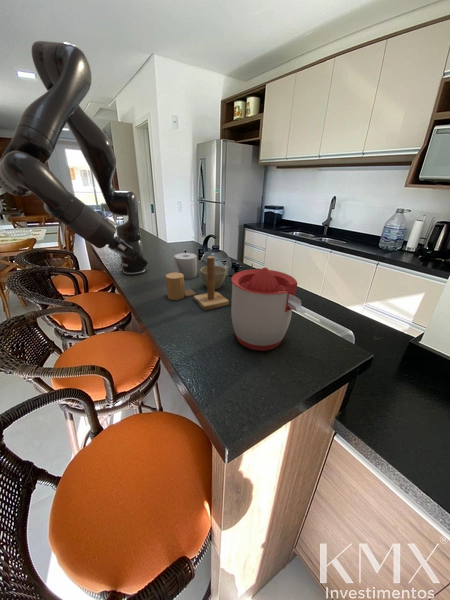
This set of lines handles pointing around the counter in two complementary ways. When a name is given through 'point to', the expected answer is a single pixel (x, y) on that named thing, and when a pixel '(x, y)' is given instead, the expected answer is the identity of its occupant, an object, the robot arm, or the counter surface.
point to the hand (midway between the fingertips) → (139, 261)
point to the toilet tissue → (186, 265)
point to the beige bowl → (219, 275)
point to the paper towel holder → (211, 290)
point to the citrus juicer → (262, 307)
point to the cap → (177, 287)
